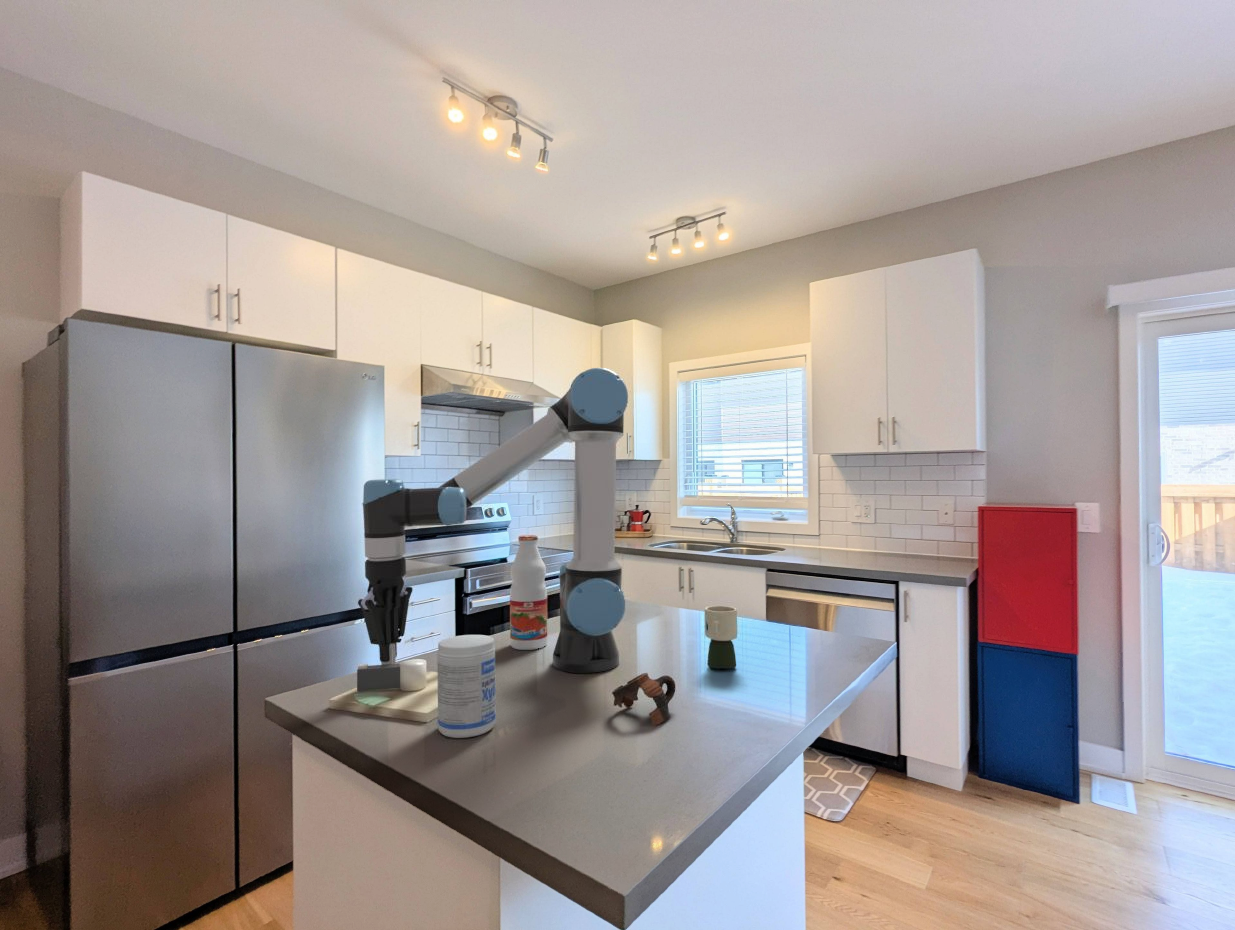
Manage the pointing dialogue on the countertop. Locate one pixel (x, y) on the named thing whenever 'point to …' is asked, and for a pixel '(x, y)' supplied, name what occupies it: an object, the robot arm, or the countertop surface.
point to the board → (396, 702)
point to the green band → (370, 698)
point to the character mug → (721, 635)
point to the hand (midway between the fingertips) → (388, 676)
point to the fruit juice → (528, 597)
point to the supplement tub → (466, 685)
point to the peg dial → (392, 676)
